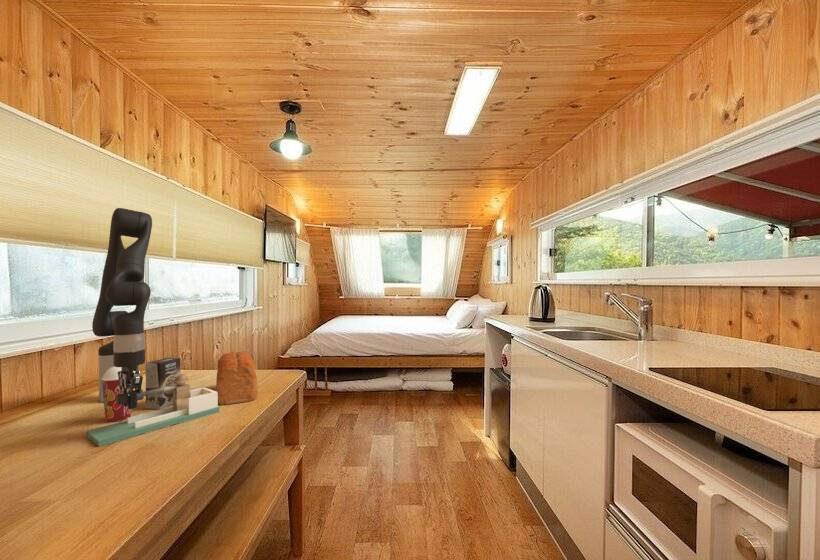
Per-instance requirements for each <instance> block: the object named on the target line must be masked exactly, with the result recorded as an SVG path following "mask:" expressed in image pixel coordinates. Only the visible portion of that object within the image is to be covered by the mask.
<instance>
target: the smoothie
mask: <svg viewBox="0 0 820 560" xmlns="http://www.w3.org/2000/svg"><path fill="white" fill-rule="evenodd" d="M121 368H122V367H115V366H113V367H111V368H110V369H108V370H107V371H106V372H105V374H104V376H103V378H102V379H101V380H102V388H103V399H104V402H103V407H104V417H105V418H106V419H107V420H106V421H108V422H110V423H111V422H112V423H116V422H122V421H125V420H127V418H128V417H131V414H132V413H133V408H132V409H128V406H127V407H125V406H124V405H123V404H120V405H117V402H116V395H117V394H122V391H121V390H120V385H119V378H118V371H121Z"/></svg>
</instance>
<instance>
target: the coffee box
mask: <svg viewBox="0 0 820 560" xmlns="http://www.w3.org/2000/svg"><path fill="white" fill-rule="evenodd" d="M180 374H181V358H179V357H164V358H161V359H157V360H152V361H147V362H145V391H149V390H154V389H159V388H163V387H168V386H173V385H177V384H176V383H175V378H176V377H177V376H178V375H180ZM171 406H173V390H170V391H166V392H161V393H157V394H152V395H148V396H145V409H150V410H151V409H152V410H160V409H164V408H168V407H171Z"/></svg>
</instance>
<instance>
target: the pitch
mask: <svg viewBox="0 0 820 560" xmlns="http://www.w3.org/2000/svg"><path fill="white" fill-rule="evenodd" d="M198 395H200V396H198ZM219 412H220V407H219V403H218V392H216V390H213V389H210V388H207V387H198V388H194V389H190V398H188V410H187V409H182V410H179V411H175V412H174V411H173V405H171V406H167V407H165V408H162V409H155V410H153V411H149V412H143V413H140V414H136V415H132V416H130V417H128V418H127V419H125V420H122V421H118V422H114V423H111V424H108V425H107V424H106V425H103V426H100V427H96V428H93V429H92V428H91V429H89V430H86V431H85V432H86V437H87V438H88V439H90V441H92V442H93V443H94V444H95V445H96V446H97V445H98V446H100V447H103V445H104V446H106V445H111V444H113V443H116V442H121V441H123V439H124V440H127V439H126V438H128V439H130V437H131V438H133V437H132V436H134V437H137V436H136V435H138V436H140V435H139V434H141V435H143V434H142V433H145V434H147V433H146V432H148V433H150V432H149V431H152V430H155V431H157V430H156V429H158V430H160V429H159V428H162V427H165V428H167V427H166V426H169V425H172V426H174V425H173V424H176V425H178V424H177V423H179V424H182V423H185V422H189V421H193V420H196V419H199V418H203V417H206V416H210V415H213V414H217V413H219ZM181 422H182V423H181ZM169 427H170V426H169ZM162 429H163V428H162ZM152 432H153V431H152ZM120 440H121V441H120ZM98 446H97V447H98Z"/></svg>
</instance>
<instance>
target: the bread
mask: <svg viewBox="0 0 820 560" xmlns="http://www.w3.org/2000/svg"><path fill="white" fill-rule="evenodd" d="M216 367H217V372H216V382H215V383H216V387H215V391H216V392H218V405H221V406H222V405H232V404H233V405H234V404H240V403H245V402H251V401H254V400H256V399H257V397H258V394H259V391H258V389H259V386H258V385H259V384H258V377H257V372H256V365H255V362H254V360H253V359H252V356H251V355H250V354H248V353H247V352H245V351H238V352H232V351H231V352H227V353H223V354H222V355H221V356H220V358H219V359H218V362H217V366H216Z"/></svg>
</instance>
